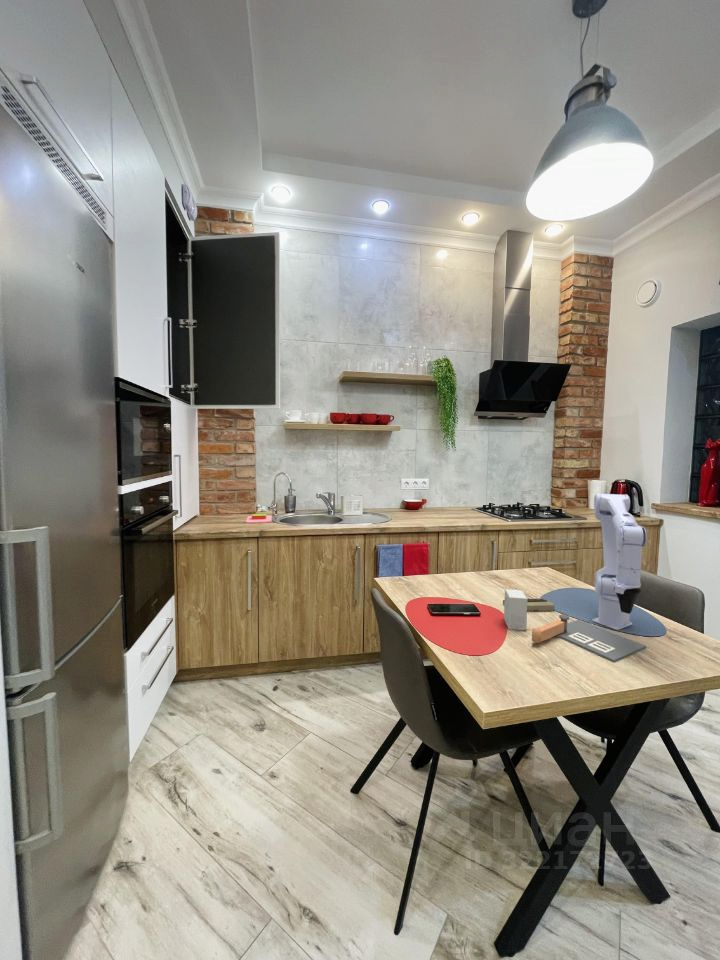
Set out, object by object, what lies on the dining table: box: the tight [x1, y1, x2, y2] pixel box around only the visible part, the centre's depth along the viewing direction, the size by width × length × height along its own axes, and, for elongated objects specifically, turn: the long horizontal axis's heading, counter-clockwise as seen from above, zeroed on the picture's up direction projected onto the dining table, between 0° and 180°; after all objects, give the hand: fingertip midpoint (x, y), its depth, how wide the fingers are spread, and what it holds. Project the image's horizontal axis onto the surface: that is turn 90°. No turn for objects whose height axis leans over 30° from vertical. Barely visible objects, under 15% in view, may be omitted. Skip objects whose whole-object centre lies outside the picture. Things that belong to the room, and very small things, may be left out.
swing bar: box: [531, 619, 564, 644], centre depth 114 cm, size 2×14×3 cm, turn 123°
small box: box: [503, 588, 529, 631], centre depth 124 cm, size 8×6×10 cm
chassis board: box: [554, 614, 647, 663], centre depth 115 cm, size 17×20×5 cm
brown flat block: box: [502, 598, 556, 613], centre depth 139 cm, size 16×8×3 cm, turn 97°
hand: (625, 612), depth 111 cm, fingers closed
